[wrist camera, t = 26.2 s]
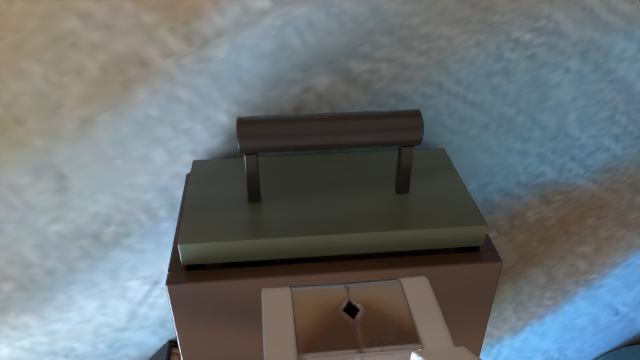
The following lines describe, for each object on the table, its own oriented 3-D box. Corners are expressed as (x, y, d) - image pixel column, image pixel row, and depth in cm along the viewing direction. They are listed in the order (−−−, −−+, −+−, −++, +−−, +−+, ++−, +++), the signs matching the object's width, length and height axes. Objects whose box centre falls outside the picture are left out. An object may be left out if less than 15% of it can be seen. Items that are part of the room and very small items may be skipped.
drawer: (181, 85, 26) (161, 158, 20) (454, 74, 27) (506, 141, 22) (220, 345, 36) (213, 442, 31) (417, 330, 38) (445, 420, 32)
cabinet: (186, 173, 30) (164, 284, 23) (446, 159, 31) (503, 261, 24) (215, 359, 38) (207, 482, 31) (418, 343, 40) (454, 457, 33)
